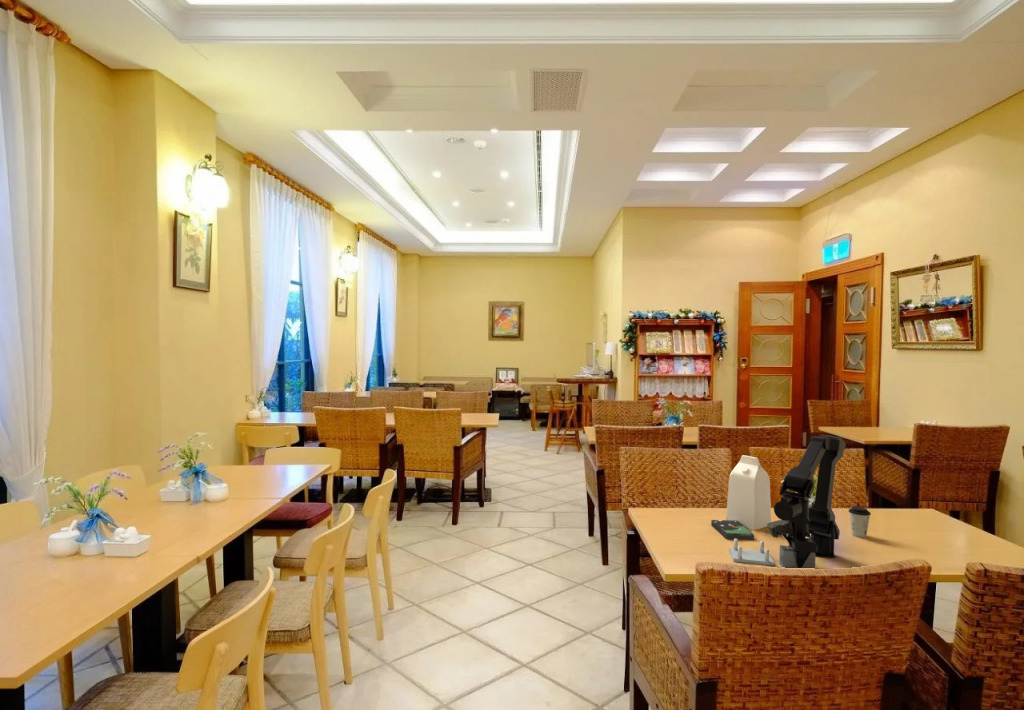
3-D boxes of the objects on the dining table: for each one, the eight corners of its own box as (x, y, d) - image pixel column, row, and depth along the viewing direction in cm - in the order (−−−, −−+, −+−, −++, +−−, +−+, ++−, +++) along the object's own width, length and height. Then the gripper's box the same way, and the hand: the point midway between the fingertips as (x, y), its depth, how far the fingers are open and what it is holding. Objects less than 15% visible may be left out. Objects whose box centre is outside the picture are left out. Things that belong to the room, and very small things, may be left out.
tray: (767, 554, 177) (767, 541, 177) (774, 565, 169) (774, 551, 168) (728, 551, 180) (729, 537, 180) (733, 561, 171) (733, 547, 171)
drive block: (810, 567, 168) (811, 547, 168) (815, 572, 164) (815, 553, 164) (779, 563, 170) (779, 544, 170) (782, 569, 166) (783, 550, 166)
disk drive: (710, 527, 206) (726, 540, 191) (710, 519, 206) (726, 532, 191) (737, 527, 206) (755, 540, 191) (737, 520, 206) (755, 533, 191)
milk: (771, 524, 208) (772, 457, 207) (754, 530, 201) (755, 461, 201) (742, 516, 218) (744, 452, 217) (725, 521, 211) (727, 455, 211)
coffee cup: (873, 539, 193) (874, 512, 193) (852, 538, 194) (853, 510, 194) (865, 533, 200) (865, 506, 199) (844, 531, 201) (845, 505, 201)
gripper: (763, 503, 178) (762, 550, 178) (777, 521, 160) (776, 573, 160) (800, 506, 175) (799, 553, 175) (818, 524, 157) (817, 577, 157)
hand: (797, 563), depth 167 cm, fingers open, 5 cm apart
